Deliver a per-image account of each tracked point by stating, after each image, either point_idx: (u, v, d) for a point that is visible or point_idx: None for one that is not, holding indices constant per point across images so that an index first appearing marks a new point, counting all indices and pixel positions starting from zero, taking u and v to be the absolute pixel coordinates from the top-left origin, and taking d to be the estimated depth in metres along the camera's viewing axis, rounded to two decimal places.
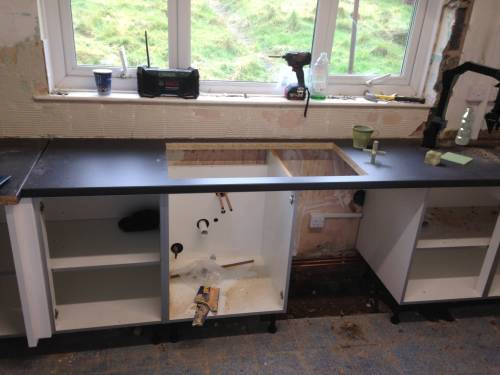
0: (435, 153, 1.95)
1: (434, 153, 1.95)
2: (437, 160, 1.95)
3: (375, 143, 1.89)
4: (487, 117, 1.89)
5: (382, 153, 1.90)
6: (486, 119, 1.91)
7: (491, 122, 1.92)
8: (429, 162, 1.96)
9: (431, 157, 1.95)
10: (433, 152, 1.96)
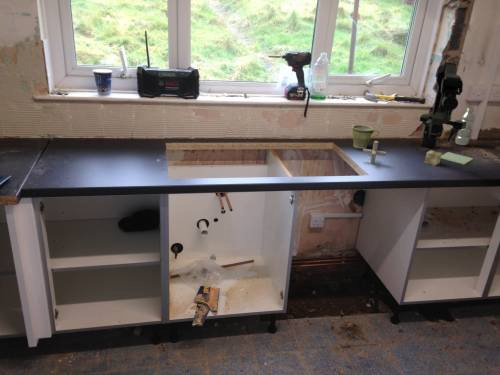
0: (435, 153, 1.95)
1: (434, 153, 1.95)
2: (437, 160, 1.95)
3: (375, 143, 1.89)
4: None
5: (382, 153, 1.90)
6: None
7: None
8: (429, 162, 1.96)
9: (431, 157, 1.95)
10: (433, 152, 1.96)
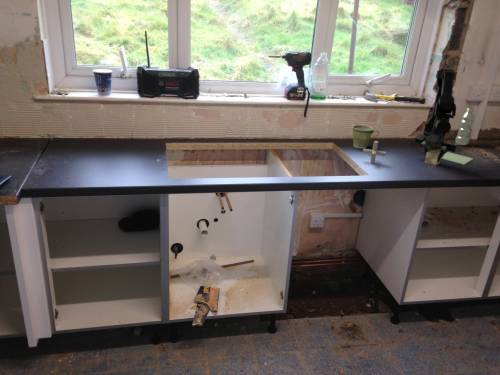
0: (435, 153, 1.95)
1: (434, 153, 1.95)
2: (437, 160, 1.95)
3: (375, 143, 1.89)
4: None
5: (382, 153, 1.90)
6: None
7: None
8: (429, 162, 1.96)
9: (431, 156, 1.95)
10: (433, 152, 1.96)
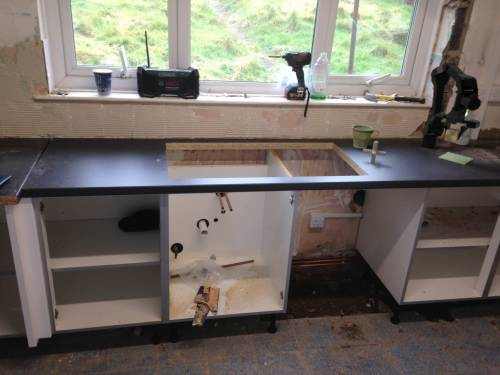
0: (455, 130, 1.96)
1: (454, 130, 1.96)
2: (457, 137, 1.95)
3: (375, 143, 1.89)
4: None
5: (382, 153, 1.90)
6: None
7: None
8: (449, 139, 1.97)
9: (451, 134, 1.96)
10: (453, 129, 1.97)
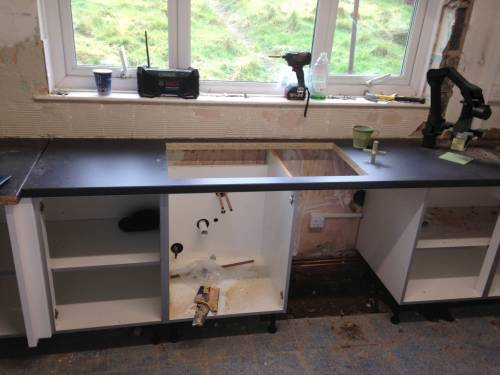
0: (462, 139, 2.00)
1: (461, 139, 2.00)
2: None
3: (375, 143, 1.89)
4: None
5: (382, 153, 1.90)
6: None
7: None
8: (456, 148, 2.01)
9: (457, 142, 2.00)
10: (460, 138, 2.02)
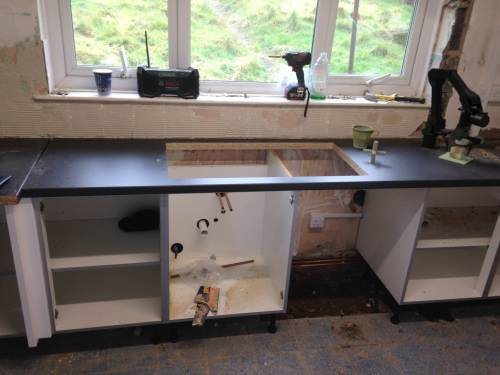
0: (459, 148, 2.02)
1: (458, 148, 2.02)
2: (461, 155, 2.02)
3: (375, 143, 1.89)
4: None
5: (382, 153, 1.90)
6: None
7: None
8: (453, 157, 2.03)
9: (455, 151, 2.02)
10: (457, 147, 2.03)
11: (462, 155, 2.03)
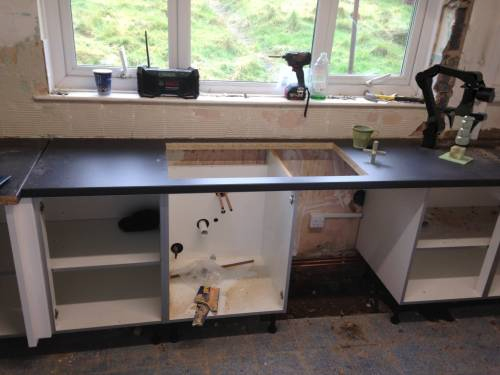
0: (459, 148, 2.02)
1: (458, 148, 2.02)
2: (461, 155, 2.02)
3: (375, 143, 1.89)
4: None
5: (382, 153, 1.90)
6: None
7: None
8: (453, 157, 2.03)
9: (455, 151, 2.02)
10: (457, 147, 2.03)
11: (462, 155, 2.03)
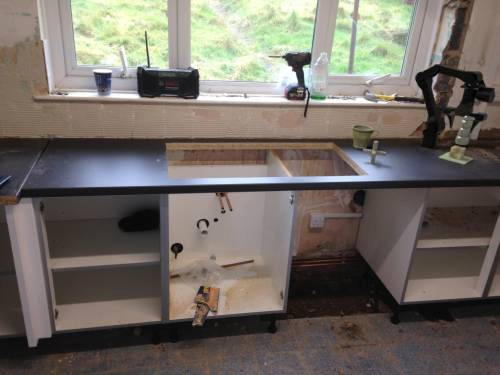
0: (459, 148, 2.02)
1: (458, 148, 2.02)
2: (461, 155, 2.02)
3: (375, 143, 1.89)
4: None
5: (382, 153, 1.90)
6: None
7: None
8: (453, 157, 2.03)
9: (455, 151, 2.02)
10: (457, 147, 2.03)
11: (462, 155, 2.03)
